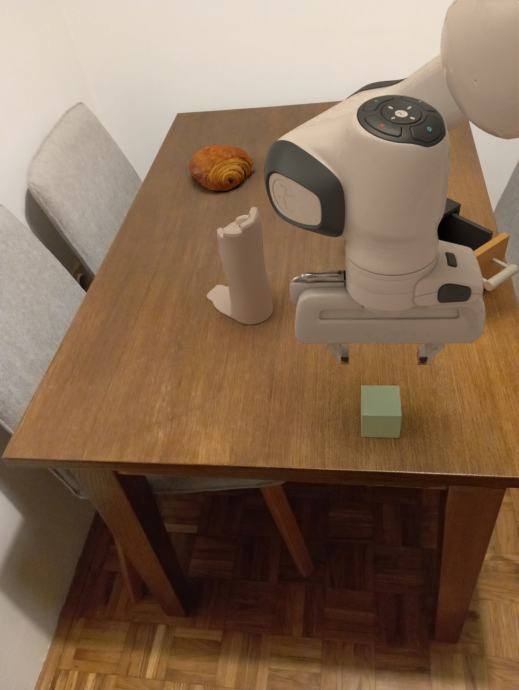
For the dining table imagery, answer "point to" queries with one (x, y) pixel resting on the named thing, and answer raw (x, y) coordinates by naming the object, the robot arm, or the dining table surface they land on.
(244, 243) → the candle
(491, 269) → the drawer
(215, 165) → the croissant
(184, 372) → the dining table surface
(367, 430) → the block
